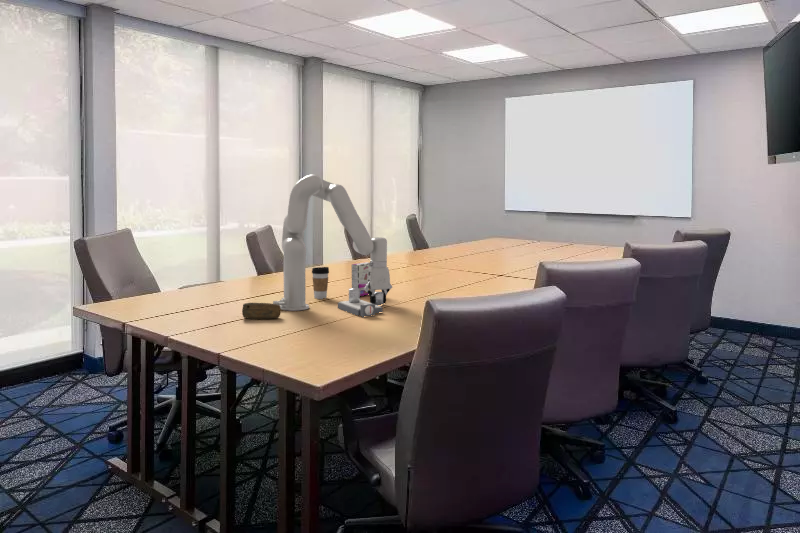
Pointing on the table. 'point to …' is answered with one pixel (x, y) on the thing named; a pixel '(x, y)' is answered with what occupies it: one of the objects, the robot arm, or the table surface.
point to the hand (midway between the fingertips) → (378, 303)
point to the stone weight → (261, 310)
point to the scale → (360, 308)
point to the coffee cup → (320, 282)
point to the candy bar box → (360, 276)
